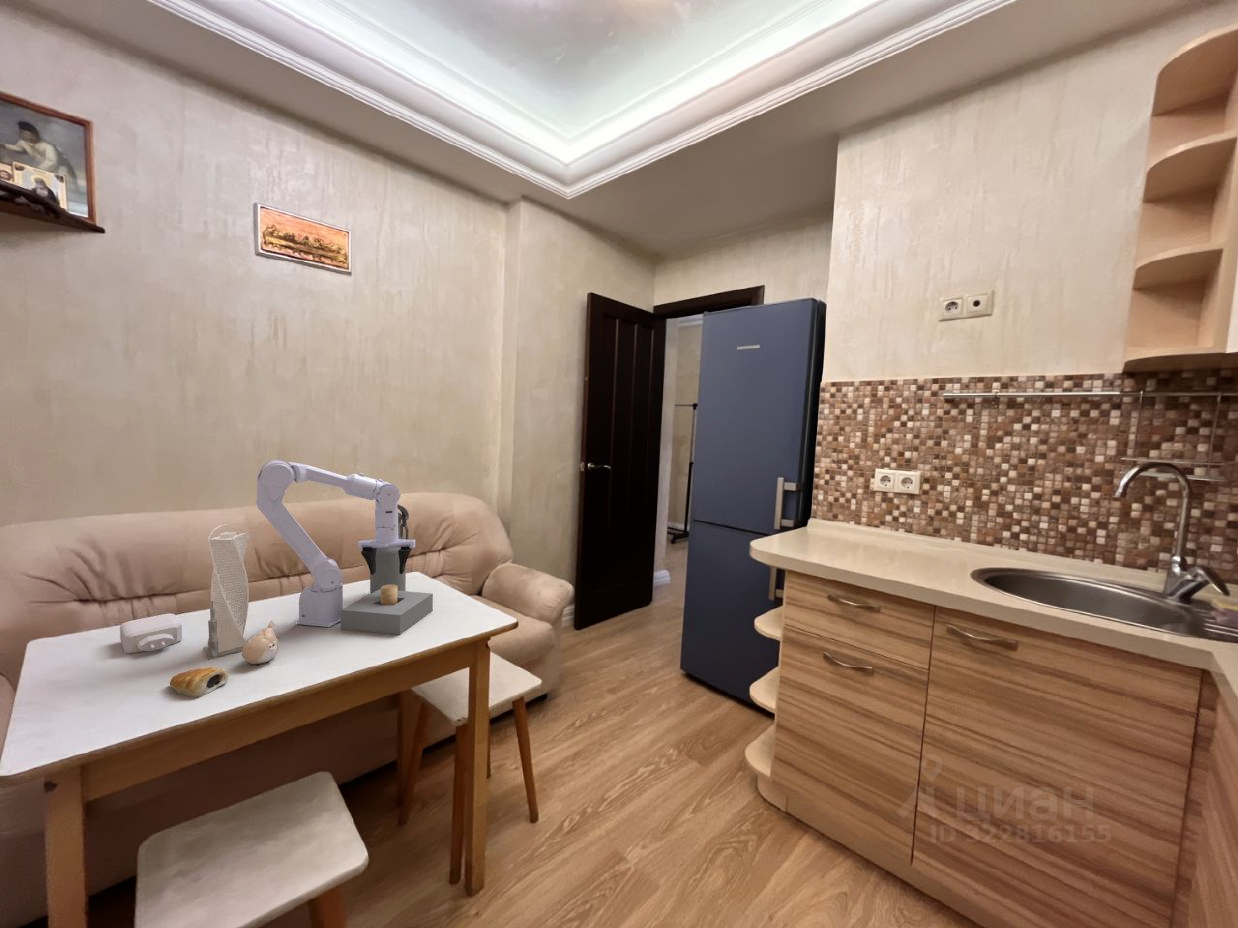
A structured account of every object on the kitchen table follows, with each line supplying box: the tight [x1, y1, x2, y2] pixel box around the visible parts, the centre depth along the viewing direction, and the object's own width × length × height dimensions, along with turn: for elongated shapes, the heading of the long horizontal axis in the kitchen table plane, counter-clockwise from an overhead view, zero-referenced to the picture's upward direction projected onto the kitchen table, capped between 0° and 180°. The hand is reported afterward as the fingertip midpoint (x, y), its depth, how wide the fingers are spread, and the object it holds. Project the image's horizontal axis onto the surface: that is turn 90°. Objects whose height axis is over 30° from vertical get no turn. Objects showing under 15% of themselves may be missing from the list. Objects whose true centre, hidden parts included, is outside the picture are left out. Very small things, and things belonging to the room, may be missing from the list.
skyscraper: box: [202, 523, 250, 661], centre depth 106 cm, size 8×8×28 cm
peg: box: [381, 584, 398, 606], centre depth 126 cm, size 4×4×9 cm
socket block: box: [340, 589, 434, 636], centre depth 126 cm, size 16×16×5 cm
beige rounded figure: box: [241, 619, 280, 665], centre depth 102 cm, size 7×6×8 cm
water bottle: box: [369, 503, 410, 595], centre depth 143 cm, size 10×10×28 cm
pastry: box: [169, 666, 230, 698], centre depth 91 cm, size 9×7×4 cm
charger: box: [119, 613, 183, 655], centre depth 107 cm, size 5×9×15 cm
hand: (387, 573), depth 132 cm, fingers open, 7 cm apart
